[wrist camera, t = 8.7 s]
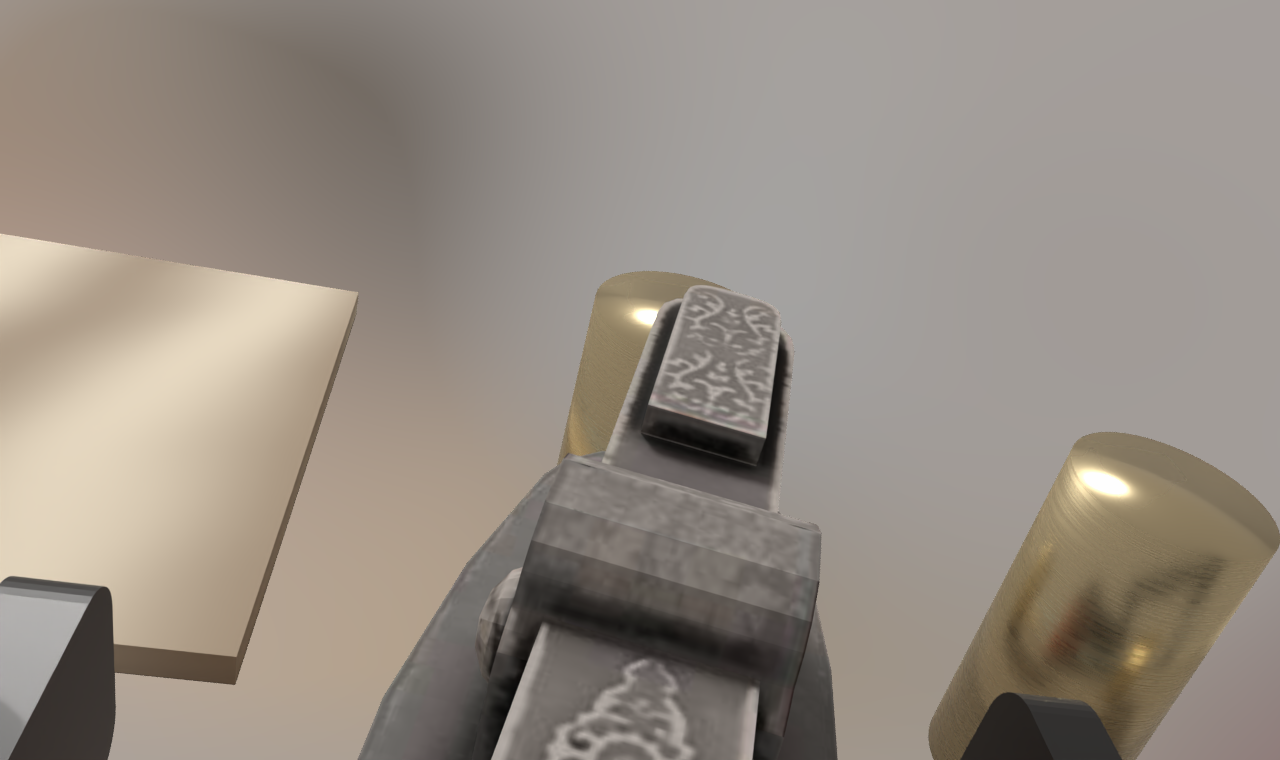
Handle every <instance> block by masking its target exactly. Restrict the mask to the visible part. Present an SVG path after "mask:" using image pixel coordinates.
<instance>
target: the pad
mask: <svg viewBox="0 0 1280 760" xmlns="http://www.w3.org/2000/svg"><path fill="white" fill-rule="evenodd" d="M357 302H358V293H357V292H352V291H346V290H339V289H334V288H327V287H321V286H315V285H309V284H303V283H297V282H291V281H285V280H279V279H273V278H267V277H261V276H254V275H249V274H242V273H236V272H230V271H224V270H218V269H212V268H206V267H200V266H194V265H188V264H181V263H175V262H169V261H163V260H157V259H151V258H145V257H139V256H133V255H127V254H121V253H115V252H108V251H102V250H96V249H90V248H84V247H78V246H72V245H66V244H60V243H53V242H48V241H42V240H36V239H30V238H24V237H17V236H11V235H5V234H0V583H1V582H2V581H3V580H4V579H6V578H7V577H10V576H18V577H27V578H35V579H44V580H53V581H62V582H71V583H79V584H88V585H97V586H105V587H107V588H108V589H109V590H110V592H111V596H112V605H113V637H114V672H115V673H125V674H135V675H144V676H155V677H164V678H174V679H184V680H193V681H203V682H213V683H223V684H232V685H235V684H236V680H237V677H238V674H239V671H240V668H241V665H242V662H243V659H244V656H245V653H246V650H247V646H248V644H249V641H250V637H251V635H252V631H253V628H254V625H255V622H256V619H257V616H258V613H259V610H260V607H261V604H262V601H263V598H264V594H265V592H266V589H267V586H268V582H269V579H270V576H271V573H272V570H273V567H274V564H275V561H276V558H277V555H278V552H279V549H280V546H281V543H282V540H283V536H284V533H285V531H286V528H287V524H288V521H289V518H290V515H291V512H292V509H293V506H294V503H295V500H296V497H297V494H298V491H299V488H300V485H301V481H302V478H303V476H304V472H305V469H306V466H307V463H308V460H309V457H310V454H311V451H312V448H313V445H314V442H315V439H316V436H317V433H318V430H319V426H320V424H321V420H322V417H323V414H324V411H325V408H326V405H327V402H328V399H329V396H330V393H331V390H332V386H333V384H334V380H335V378H336V374H337V371H338V368H339V365H340V362H341V359H342V356H343V353H344V350H345V347H346V344H347V341H348V338H349V335H350V332H351V329H352V326H353V322H354V320H355V316H356V312H357Z"/></svg>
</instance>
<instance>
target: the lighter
mask: <svg viewBox="0 0 1280 760" xmlns="http://www.w3.org/2000/svg"><path fill="white" fill-rule="evenodd" d="M793 361H794V347H793V341H792V339H791V337H790V336H789V335H788V334H787V333H786V331H785V330H784V329H783V328H781V317H780V313H779V311H778V310H777V309H776V308H775V307H774V306H772V305H770V304H768V303H767V302H764V301H762V300H759V299H755V298H753V297H750V296H747V295H744V294H740V293H737V292H733V291H730V290H726V289H721V288H717V287H712V286H708V285H695V286H693V287H690V288H689V289H688V291H687V292H686V293H685V295H684V297H683V299H675V300H672V301H669V302H666V303H664V304H663V306H662V307H661V308H660V310H659V311H658V312H657V314H656V317H655V320H654V322H653V325H652V328H651V331H650V333H649V336H648V339H647V341H646V344H645V347H644V349H643V352H642V355H641V357H640V360H639V363H638V366H637V368H636V371H635V374H634V376H633V379H632V382H631V384H630V387H629V390H628V392H627V395H626V398H625V401H624V403H623V406H622V409H621V411H620V414H619V417H618V419H617V422H616V425H615V428H614V430H613V433H612V436H611V438H610V441H609V444H608V446H607V449H606V451H600V452H596V453H591V454H587V455H583V456H578V455H574V454H571V453H568V454H567V455H566V456H565V457H564V458H563V460H562V462H561V464H559V465H558V466H556V467H555V468H553V469H552V470H550V471H549V472H547V473H546V474H544V475H543V477H541V479H540V480H539V481H538V482H537V483H536V484H535V486H534V487H533V488H532V489H531V490H530V491H529V492H528V494H527V495H526V496H525V497H524V498H523V499H522V500H521V502H520V503H519V504H518V505H517V506H516V507H515V509H514V510H513V511H512V512H511V513H510V514H509V515H508V517H507V518H506V519H505V520H504V521H503V522H502V524H501V525H500V526H499V527H498V528H497V529H496V531H494V533H493V534H492V535H491V536H490V537H489V539H488V540H487V541H486V542H485V543H484V544H483V545H482V547H481V548H480V549H479V550H478V551H477V552H476V554H475V555H474V556H473V557H472V558H471V559H470V560H469V561H468V562H467V564H466V566H465V567H464V569H463V570H462V572H461V574H460V575H459V577H458V578H457V580H456V582H455V583H454V585H453V587H452V588H451V590H450V591H449V593H448V594H447V596H446V598H445V599H444V601H443V602H442V604H441V606H440V607H439V609H438V610H437V612H436V614H435V615H434V617H433V618H432V620H431V622H430V623H429V625H428V626H427V628H426V630H425V631H424V633H423V634H422V636H421V638H420V639H419V641H418V642H417V644H416V645H415V647H414V649H413V650H412V652H411V653H410V655H409V657H408V658H407V660H406V661H405V663H404V665H403V666H402V668H401V670H400V671H399V673H398V674H397V676H396V678H395V679H394V681H393V683H392V684H391V686H390V687H389V689H388V690H387V692H386V693H385V695H384V697H383V699H382V702H381V704H380V706H379V709H378V712H377V714H376V716H375V719H374V721H373V724H372V726H371V728H370V731H369V733H368V736H367V738H366V741H365V743H364V745H363V748H362V750H361V753H360V755H359V758H358V760H837V746H836V733H835V718H834V704H833V689H832V675H831V667H830V663H829V658H828V654H827V649H826V645H825V641H824V636H823V632H822V627H821V622H820V618H819V613H818V609H817V605H816V598H817V593H818V587H819V580H820V579H819V577H820V554H821V531H820V530H819V527H818V526H817V525H816V524H812V523H809V522H806V521H802V520H799V519H795V518H792V517H788V516H785V515H781V514H780V513H779V512H778V506H779V496H780V487H781V477H782V467H783V458H784V448H785V439H786V429H787V419H788V409H789V400H790V389H791V379H792V371H793Z"/></svg>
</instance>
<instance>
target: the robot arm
mask: <svg viewBox="0 0 1280 760" xmlns="http://www.w3.org/2000/svg"><path fill="white" fill-rule="evenodd" d="M115 708H116V706H115V672H114V637H113V605H112V596H111V592H110V590H109V589H108V588H107V587H105V586H97V585H88V584H79V583H71V582H62V581H53V580H44V579H35V578H27V577H18V576H10V577H7V578H6V579H4V580H3V581H2V582H1V583H0V760H107V759H108V756H109V752H110V747H111V743H112V737H113V732H114V724H115ZM960 760H1122V759H1121V757H1120V755H1119V753H1118V751H1117V749H1116V747H1115V746H1114V744H1113V742H1112V740H1111V738H1110V736H1109V735H1108V733H1107V731H1106V729H1105V727H1104V725H1103V723H1102V722H1101V720H1100V718H1099V716H1098V715H1097V713H1096V712H1095V711H1094V710H1093V708H1092V707H1091V706H1089V705H1088V704H1087V703H1085V702H1083V701H1081V700H1074V699H1065V698H1056V697H1048V696H1039V695H1030V694H1021V693H1012V692H1006V693H1002V694H1000V695H999V696H997V697H996V699H995V700H994V701H993V702H992V704H991V705H990V707H989V709H988V710H987V712H986V714H985V716H984V718H983V719H982V721H981V723H980V725H979V727H978V728H977V730H976V732H975V734H974V736H973V737H972V739H971V741H970V743H969V745H968V747H967V748H966V750H965V752H964V754H963V756H962V757H961V759H960Z"/></svg>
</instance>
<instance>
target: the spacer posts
mask: <svg viewBox="0 0 1280 760" xmlns="http://www.w3.org/2000/svg"><path fill="white" fill-rule="evenodd" d="M695 285H708V286H712V287H717V288H721V289H726V290H729V289H727V288H725V287H722V286H720V285H717V284H715V283H712V282H709V281H705V280H702V279H699V278H695V277H691V276H686V275H682V274H676V273H669V272H657V271H642V272H632V273H626V274H621V275H618V276H615V277H612V278H611V279H609V280H607V281H606V282H604V283H603V284H602V285H601V286H600V287H599V289H598V291H597V293H596V296H595V301H594V305H593V309H592V314H591V319H590V323H589V327H588V331H587V336H586V341H585V345H584V349H583V354H582V358H581V362H580V367H579V371H578V375H577V380H576V384H575V389H574V393H573V397H572V402H571V406H570V410H569V415H568V419H567V424H566V428H565V433H564V437H563V441H562V446H561V450H560V454H559V459H558V463H557V466H558V465H559V464H561V462H562V460H563V458H564V457H565V456H566V455H567V454H568V453H571V454H574V455H578V456H583V455H587V454H591V453H596V452H600V451H606V449H607V446H608V444H609V441H610V438H611V436H612V433H613V430H614V428H615V425H616V422H617V419H618V417H619V414H620V411H621V409H622V406H623V403H624V401H625V398H626V395H627V392H628V390H629V387H630V384H631V382H632V379H633V376H634V374H635V371H636V368H637V366H638V363H639V360H640V357H641V355H642V352H643V349H644V347H645V344H646V341H647V339H648V336H649V333H650V331H651V328H652V325H653V322H654V320H655V317H656V314H657V312H658V311H659V310H660V308H661V307H662V306H663V304H664V303H666V302H669V301H672V300H675V299H683V297H684V295H685V293H686V292H687V291H688V289H689V288H690V287H693V286H695ZM730 291H731V290H730ZM733 292H734V291H733ZM1279 544H1280V534H1279V530H1278V527H1277V525H1276V523H1275V521H1274V520H1273V518H1272V516H1271V515H1270V513H1269V512H1268V511H1267V510H1266V508H1265V507H1264V506H1263V505H1262V504H1261V503H1260V502H1259V501H1258V500H1257V499H1256V498H1255V497H1254V496H1253V495H1252V494H1251V493H1250V492H1249V491H1248V490H1246V489H1245V488H1244V487H1243V486H1241V485H1240V484H1239V483H1238V482H1236V481H1235V480H1233V479H1232V478H1230V477H1229V476H1228V475H1226V474H1224V473H1223V472H1222V471H1220V470H1218V469H1217V468H1215V467H1214V466H1212V465H1210V464H1208V463H1206V462H1204V461H1203V460H1201V459H1199V458H1197V457H1195V456H1193V455H1191V454H1189V453H1186V452H1184V451H1182V450H1180V449H1177V448H1175V447H1172V446H1170V445H1167V444H1164V443H1161V442H1158V441H1155V440H1152V439H1148V438H1144V437H1141V436H1136V435H1131V434H1125V433H1117V432H1116V433H1115V432H1099V433H1093V434H1089V435H1086V436H1083V437H1082V438H1080V439H1079V440H1078V441H1077V442H1076V443H1075V444H1074V446H1073V448H1072V450H1071V451H1070V454H1069V455H1068V457H1067V459H1066V461H1065V463H1064V465H1063V467H1062V469H1061V471H1060V473H1059V475H1058V476H1057V478H1056V480H1055V482H1054V484H1053V486H1052V488H1051V490H1050V492H1049V494H1048V496H1047V498H1046V500H1045V502H1044V503H1043V506H1042V507H1041V509H1040V511H1039V513H1038V515H1037V517H1036V519H1035V521H1034V523H1033V525H1032V527H1031V529H1030V530H1029V532H1028V534H1027V537H1026V538H1025V540H1024V542H1023V544H1022V546H1021V548H1020V550H1019V552H1018V554H1017V556H1016V558H1015V560H1014V561H1013V563H1012V565H1011V567H1010V569H1009V571H1008V573H1007V575H1006V577H1005V579H1004V581H1003V583H1002V585H1001V587H1000V588H999V590H998V592H997V594H996V596H995V598H994V600H993V602H992V604H991V606H990V608H989V610H988V612H987V613H986V615H985V617H984V619H983V621H982V623H981V625H980V627H979V629H978V631H977V633H976V635H975V637H974V639H973V641H972V642H971V644H970V646H969V648H968V650H967V652H966V654H965V656H964V658H963V660H962V662H961V664H960V666H959V668H958V670H957V672H956V673H955V675H954V677H953V679H952V681H951V683H950V685H949V687H948V689H947V691H946V693H945V695H944V696H943V698H942V700H941V702H940V704H939V706H938V708H937V710H936V712H935V714H934V716H933V718H932V720H931V723H930V727H929V745H930V750H931V753H932V756H933V759H934V760H960V759H961V757H962V756H963V754H964V752H965V750H966V748H967V747H968V745H969V743H970V741H971V739H972V737H973V736H974V734H975V732H976V730H977V728H978V727H979V725H980V723H981V721H982V719H983V718H984V716H985V714H986V712H987V710H988V709H989V707H990V705H991V704H992V702H993V701H994V700H995V699H996V697H997V696H999V695H1000V694H1002V693H1006V692H1012V693H1021V694H1030V695H1039V696H1048V697H1056V698H1065V699H1074V700H1081V701H1083V702H1085V703H1087V704H1088V705H1089V706H1091V707H1092V708H1093V710H1094V711H1095V712H1096V713H1097V715H1098V716H1099V718H1100V720H1101V722H1102V723H1103V725H1104V727H1105V729H1106V731H1107V733H1108V735H1109V736H1110V738H1111V740H1112V742H1113V744H1114V746H1115V747H1116V749H1117V751H1118V753H1119V755H1120V757H1121V759H1122V760H1136V759H1137V757H1138V756H1139V754H1140V753H1141V751H1142V750H1143V748H1144V747H1145V745H1146V744H1147V742H1148V741H1149V739H1150V738H1151V736H1152V735H1153V733H1154V732H1155V730H1156V729H1157V727H1158V726H1159V725H1160V723H1161V721H1162V720H1163V719H1164V717H1165V716H1166V714H1167V712H1168V711H1169V710H1170V708H1171V707H1172V705H1173V704H1174V702H1175V701H1176V699H1177V698H1178V696H1179V695H1180V693H1181V692H1182V690H1183V689H1184V687H1185V686H1186V684H1187V683H1188V681H1189V680H1190V678H1191V677H1192V675H1193V674H1194V673H1195V671H1196V670H1197V668H1198V667H1199V665H1200V664H1201V662H1202V661H1203V659H1204V658H1205V656H1206V655H1207V653H1208V652H1209V650H1210V649H1211V647H1212V646H1213V644H1214V643H1215V641H1216V640H1217V638H1218V637H1219V635H1220V634H1221V632H1222V631H1223V629H1224V628H1225V627H1226V625H1227V624H1228V622H1229V620H1230V619H1231V617H1232V616H1233V615H1234V613H1235V612H1236V610H1237V609H1238V607H1239V606H1240V604H1241V602H1242V601H1243V600H1244V598H1245V597H1246V595H1247V594H1248V592H1249V591H1250V589H1251V588H1252V586H1253V585H1254V583H1255V582H1256V581H1257V579H1258V578H1259V576H1260V575H1261V573H1262V572H1263V570H1264V569H1265V567H1266V565H1267V564H1268V563H1269V561H1270V559H1271V558H1272V557H1273V555H1274V554H1275V552H1276V551H1277V549H1278V547H1279Z"/></svg>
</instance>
